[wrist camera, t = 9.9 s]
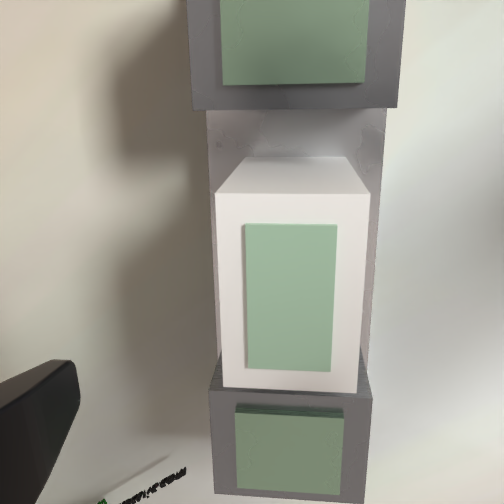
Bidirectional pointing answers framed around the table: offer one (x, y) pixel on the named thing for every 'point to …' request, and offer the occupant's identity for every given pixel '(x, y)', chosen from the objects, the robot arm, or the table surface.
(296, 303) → the block
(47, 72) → the table surface
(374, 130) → the rail
